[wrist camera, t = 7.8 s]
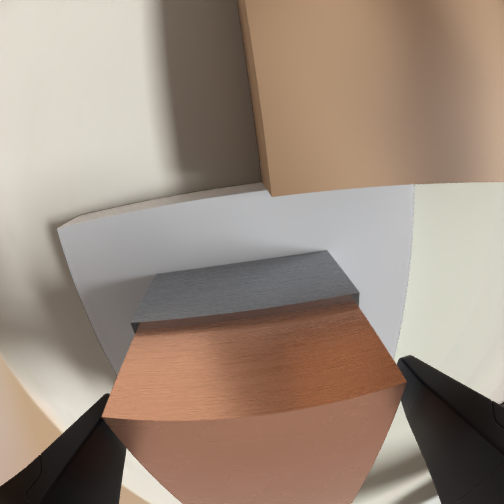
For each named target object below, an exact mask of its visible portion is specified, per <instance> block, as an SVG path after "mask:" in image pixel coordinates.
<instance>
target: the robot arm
mask: <svg viewBox="0 0 504 504" xmlns="http://www.w3.org/2000/svg"><path fill="white" fill-rule="evenodd" d="M397 366H398V368H399V370H400V371H401V373H402V375H403V376H404V378H405V379H406V381H407V383H406V386H405V389H404V392H403V395H402V398H401V402H402V405H403V408H404V412H405V415H406V418H407V420H408V423H409V425H410V427H411V429H412V432H413V434H414V436H415V439H416V441H417V443H418V446H419V448H420V450H421V453H422V455H423V457H424V460H425V462H426V465H427V467H428V470H429V472H430V475H431V477H432V480H433V482H434V485H435V488H436V490H437V493H438V496H439V498H440V501H441V504H504V407H503V406H501V405H500V404H498V403H496V402H494V401H491V400H490V399H489V398H487V397H485V396H483V395H481V394H480V393H478V392H476V391H474V390H472V389H471V388H469V387H467V386H465V385H463V384H462V383H460V382H458V381H456V380H454V379H453V378H451V377H449V376H447V375H446V374H444V373H442V372H440V371H438V370H437V369H435V368H433V367H431V366H430V365H428V364H426V363H424V362H423V361H421V360H419V359H417V358H415V357H414V356H411V355H408V356H405V357H402V358H400V359H399V360H398V363H397ZM109 396H110V393H107V394H105V395H103V396H102V397H101V398H100V399H99V400H98V401H97V402H96V403H95V404H94V405H93V406H92V407H91V408H90V409H88V410H87V411H86V412H85V413H84V414H83V415H82V416H81V417H80V418H79V419H78V420H77V421H76V422H75V423H73V424H72V425H71V426H70V427H69V428H68V429H67V430H66V431H65V432H64V433H63V434H62V435H61V436H60V437H58V438H57V439H56V440H55V441H54V442H53V443H52V444H51V445H50V446H49V447H48V448H47V449H46V450H44V451H43V452H42V453H41V455H39V456H38V457H37V458H36V459H35V460H34V461H33V462H31V463H30V464H29V465H28V466H27V467H26V468H24V469H23V470H22V471H21V472H19V473H18V474H17V475H15V476H14V477H13V478H11V479H10V480H9V481H7V482H6V483H4V484H3V485H2V486H0V504H119V498H120V490H121V483H122V476H123V469H124V462H125V456H126V447H125V446H124V444H123V443H122V442H121V441H120V440H119V438H118V437H117V436H116V435H115V433H114V432H113V431H112V430H111V429H110V427H109V426H108V425H107V423H106V422H105V421H104V419H103V418H102V415H103V412H104V409H105V407H106V404H107V401H108V399H109Z"/></svg>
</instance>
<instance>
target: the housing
mask: <svg viewBox="0 0 504 504" xmlns="http://www.w3.org/2000/svg"><path fill="white" fill-rule="evenodd" d="M359 295H360V292H359V291H358V290H357V288H356V287H355V286H354V284H353V283H352V282H351V280H350V279H349V278H348V276H347V275H346V274H345V272H344V271H343V270H342V269H341V267H340V266H339V265H338V263H337V262H336V261H335V260H334V258H333V257H332V256H331V254H330V253H329V252H328V251H327V250H324V251H317V252H310V253H303V254H296V255H289V256H282V257H275V258H268V259H261V260H254V261H247V262H240V263H233V264H225V265H218V266H211V267H204V268H196V269H189V270H181V271H174V272H166V273H159V274H156V275H155V277H154V278H153V280H152V282H151V284H150V286H149V288H148V290H147V292H146V293H145V295H144V297H143V299H142V301H141V303H140V305H139V307H138V309H137V311H136V313H135V315H134V317H133V319H132V321H131V326H132V328H133V331H134V333H135V336H134V338H133V340H132V343H131V345H130V347H129V350H128V352H127V354H126V357H125V359H124V361H123V364H122V366H121V369H120V371H119V373H118V376H117V378H116V381H115V383H114V386H113V388H112V391H111V393H110V396H109V399H108V401H107V404H106V407H105V409H104V412H103V415H102V418H103V419H104V421H105V422H106V423H107V425H108V426H109V427H110V429H111V430H112V431H113V432H114V433H115V435H116V436H117V437H118V438H119V440H120V441H121V442H122V443H123V444H124V446H125V447H126V448H127V449H128V450H129V451H130V452H131V454H132V455H133V456H134V457H135V458H136V459H137V460H138V461H139V462H140V463H141V464H142V465H143V467H144V468H145V469H146V470H147V471H148V472H149V473H150V474H151V475H152V476H153V477H154V478H155V479H156V480H157V481H158V482H159V483H160V484H161V485H162V486H163V487H165V488H166V489H167V490H168V491H169V492H170V493H171V494H172V495H173V496H174V497H175V498H177V499H178V500H179V501H180V502H181V503H182V504H350V503H352V502H353V500H354V498H355V497H356V495H357V493H358V492H359V490H360V488H361V486H362V484H363V483H364V481H365V479H366V477H367V475H368V473H369V471H370V470H371V468H372V466H373V464H374V462H375V460H376V457H377V455H378V453H379V451H380V449H381V447H382V445H383V443H384V440H385V438H386V436H387V433H388V431H389V429H390V426H391V424H392V421H393V419H394V416H395V414H396V411H397V409H398V406H399V403H400V401H401V398H402V395H403V392H404V389H405V386H406V383H407V381H406V379H405V378H404V376H403V375H402V373H401V371H400V370H399V368H398V366H397V365H396V363H395V362H394V360H393V358H392V357H391V355H390V354H389V352H388V350H387V349H386V347H385V346H384V344H383V343H382V341H381V340H380V338H379V336H378V335H377V333H376V332H375V330H374V329H373V327H372V326H371V324H370V323H369V321H368V320H367V318H366V317H365V315H364V314H363V312H362V311H361V309H360V308H359Z"/></svg>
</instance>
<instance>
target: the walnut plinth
mask: <svg viewBox="0 0 504 504" xmlns="http://www.w3.org/2000/svg"><path fill="white" fill-rule="evenodd" d="M237 5H238V11H239V17H240V24H241V30H242V37H243V44H244V51H245V57H246V64H247V71H248V78H249V85H250V93H251V100H252V107H253V115H254V122H255V130H256V138H257V145H258V153H259V161H260V169H261V177H262V183H263V184H264V186H265V187H266V189H267V190H268V192H269V194H270V195H271V197H277V196H285V195H294V194H303V193H312V192H322V191H332V190H343V189H354V188H366V187H380V186H395V185H411V184H432V183H462V182H504V0H237Z"/></svg>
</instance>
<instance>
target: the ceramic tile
mask: <svg viewBox="0 0 504 504" xmlns="http://www.w3.org/2000/svg"><path fill="white" fill-rule="evenodd" d="M413 217H414V184H411V185H395V186H380V187H366V188H354V189H343V190H332V191H322V192H312V193H303V194H294V195H285V196H277V197H271V195H270V194H269V192H268V190H267V189H266V187H265V186H264V184H263V183H262V182H261V183H253V184H245V185H238V186H231V187H224V188H217V189H211V190H205V191H198V192H192V193H187V194H181V195H175V196H170V197H164V198H159V199H154V200H148V201H143V202H138V203H133V204H129V205H124V206H119V207H115V208H110V209H106V210H101V211H97V212H93V213H88V214H84V215H80V216H77V217H76V218H74V219H72V220H70V221H69V222H67V223H65V224H64V225H62V226H60V227H59V228H57V231H58V235H59V238H60V242H61V245H62V248H63V251H64V255H65V258H66V261H67V264H68V267H69V270H70V272H71V275H72V278H73V281H74V284H75V286H76V289H77V291H78V294H79V297H80V299H81V302H82V304H83V307H84V309H85V311H86V314H87V316H88V318H89V321H90V323H91V325H92V327H93V330H94V332H95V334H96V336H97V338H98V340H99V342H100V344H101V346H102V348H103V350H104V352H105V354H106V356H107V358H108V360H109V362H110V364H111V366H112V368H113V370H114V372H115V373H116V375H117V376H118V373H119V371H120V369H121V366H122V364H123V361H124V359H125V357H126V354H127V352H128V350H129V347H130V345H131V343H132V340H133V338H134V336H135V333H134V331H133V328H132V326H131V321H132V319H133V317H134V315H135V313H136V311H137V309H138V307H139V305H140V303H141V301H142V299H143V297H144V295H145V293H146V292H147V290H148V288H149V286H150V284H151V282H152V280H153V278H154V277H155V275H156V274H159V273H166V272H174V271H181V270H189V269H196V268H204V267H211V266H218V265H225V264H233V263H240V262H247V261H254V260H261V259H268V258H275V257H282V256H289V255H296V254H303V253H310V252H317V251H324V250H327V251H328V252H329V253H330V254H331V256H332V257H333V258H334V260H335V261H336V262H337V263H338V265H339V266H340V267H341V269H342V270H343V271H344V272H345V274H346V275H347V276H348V278H349V279H350V280H351V282H352V283H353V284H354V286H355V287H356V288H357V290H358V291H359V292H360V295H359V308H360V309H361V311H362V312H363V314H364V315H365V317H366V318H367V320H368V321H369V323H370V324H371V326H372V327H373V329H374V330H375V332H376V333H377V335H378V336H379V338H380V340H381V341H382V343H383V344H384V346H385V347H386V349H387V350H388V352H389V354H390V355H391V357H392V358H393V360H394V357H395V352H396V348H397V343H398V339H399V334H400V329H401V323H402V318H403V312H404V306H405V300H406V293H407V286H408V278H409V270H410V260H411V249H412V236H413Z"/></svg>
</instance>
